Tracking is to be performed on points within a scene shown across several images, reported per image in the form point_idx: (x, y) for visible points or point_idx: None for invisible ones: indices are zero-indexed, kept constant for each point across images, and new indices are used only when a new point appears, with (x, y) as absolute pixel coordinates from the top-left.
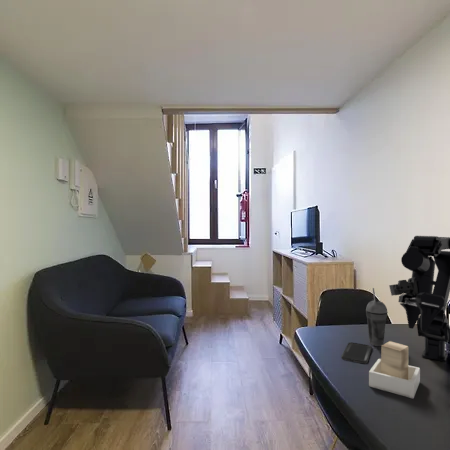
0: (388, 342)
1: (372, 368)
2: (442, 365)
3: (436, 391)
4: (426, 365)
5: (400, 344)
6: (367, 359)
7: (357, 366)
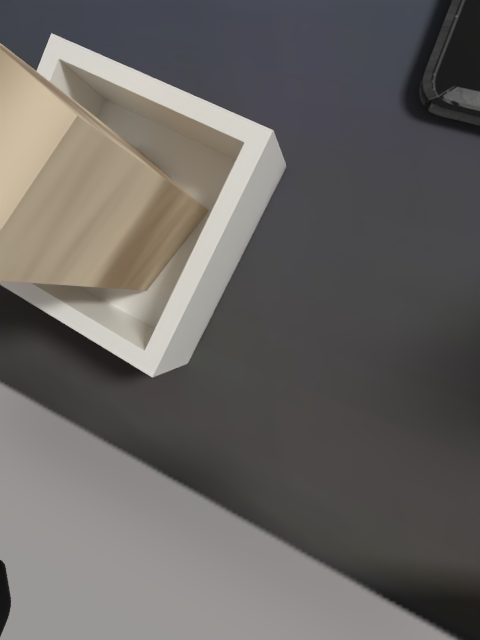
0: (37, 92)
1: (96, 60)
2: (461, 624)
3: (107, 403)
4: (445, 515)
5: (3, 211)
6: (461, 111)
7: (357, 40)
